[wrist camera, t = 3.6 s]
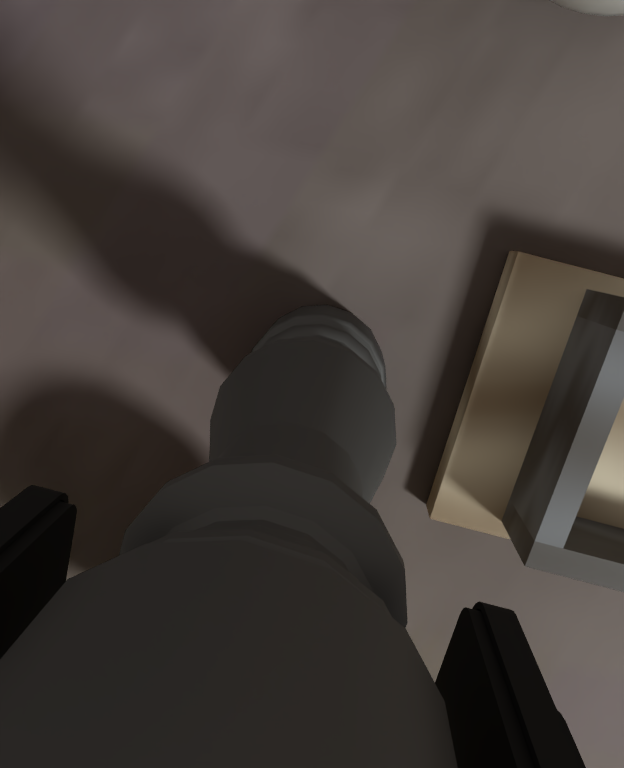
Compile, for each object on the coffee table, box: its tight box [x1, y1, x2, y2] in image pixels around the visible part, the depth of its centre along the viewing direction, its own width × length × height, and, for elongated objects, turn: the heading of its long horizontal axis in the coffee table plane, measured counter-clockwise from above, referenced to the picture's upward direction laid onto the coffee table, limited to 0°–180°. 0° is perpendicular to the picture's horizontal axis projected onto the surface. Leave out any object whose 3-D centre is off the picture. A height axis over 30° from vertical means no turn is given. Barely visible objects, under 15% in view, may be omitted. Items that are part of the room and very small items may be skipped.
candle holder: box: [0, 305, 458, 768], centre depth 16 cm, size 6×6×25 cm
